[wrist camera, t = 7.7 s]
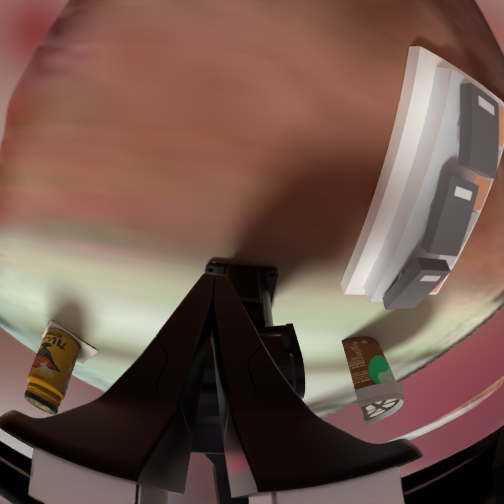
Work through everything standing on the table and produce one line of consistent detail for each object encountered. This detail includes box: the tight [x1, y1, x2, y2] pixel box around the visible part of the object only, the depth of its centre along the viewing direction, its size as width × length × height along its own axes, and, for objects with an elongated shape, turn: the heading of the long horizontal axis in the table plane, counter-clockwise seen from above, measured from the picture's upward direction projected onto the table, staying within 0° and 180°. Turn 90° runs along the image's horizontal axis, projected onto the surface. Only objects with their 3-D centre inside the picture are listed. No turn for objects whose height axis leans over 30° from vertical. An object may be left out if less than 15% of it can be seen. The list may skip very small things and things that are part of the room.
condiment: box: [25, 320, 98, 415], centre depth 28 cm, size 7×8×12 cm
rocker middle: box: [421, 171, 479, 257], centre depth 16 cm, size 6×4×1 cm, turn 173°
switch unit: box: [340, 46, 504, 302], centre depth 19 cm, size 23×13×4 cm, turn 173°
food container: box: [342, 336, 404, 426], centre depth 31 cm, size 12×6×10 cm, turn 24°
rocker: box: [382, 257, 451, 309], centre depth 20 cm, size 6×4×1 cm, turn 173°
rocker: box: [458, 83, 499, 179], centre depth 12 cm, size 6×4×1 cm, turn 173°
